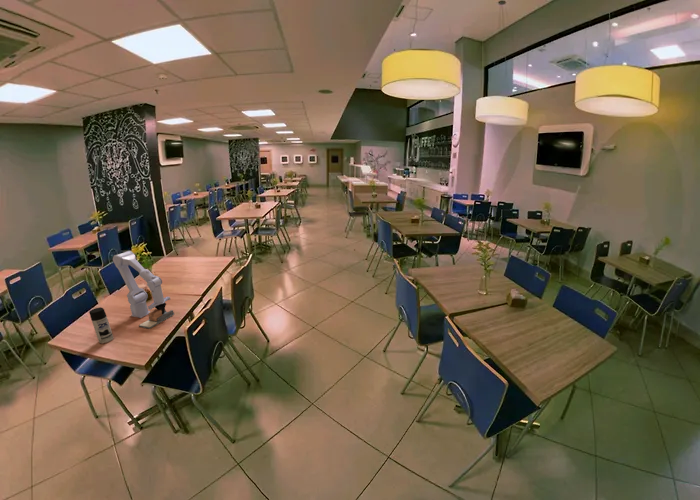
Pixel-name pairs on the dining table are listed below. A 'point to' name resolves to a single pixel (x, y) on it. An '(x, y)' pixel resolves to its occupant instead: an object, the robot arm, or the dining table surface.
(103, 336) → the spray can
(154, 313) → the block
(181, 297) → the dining table surface
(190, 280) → the dining table surface
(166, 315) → the chute
